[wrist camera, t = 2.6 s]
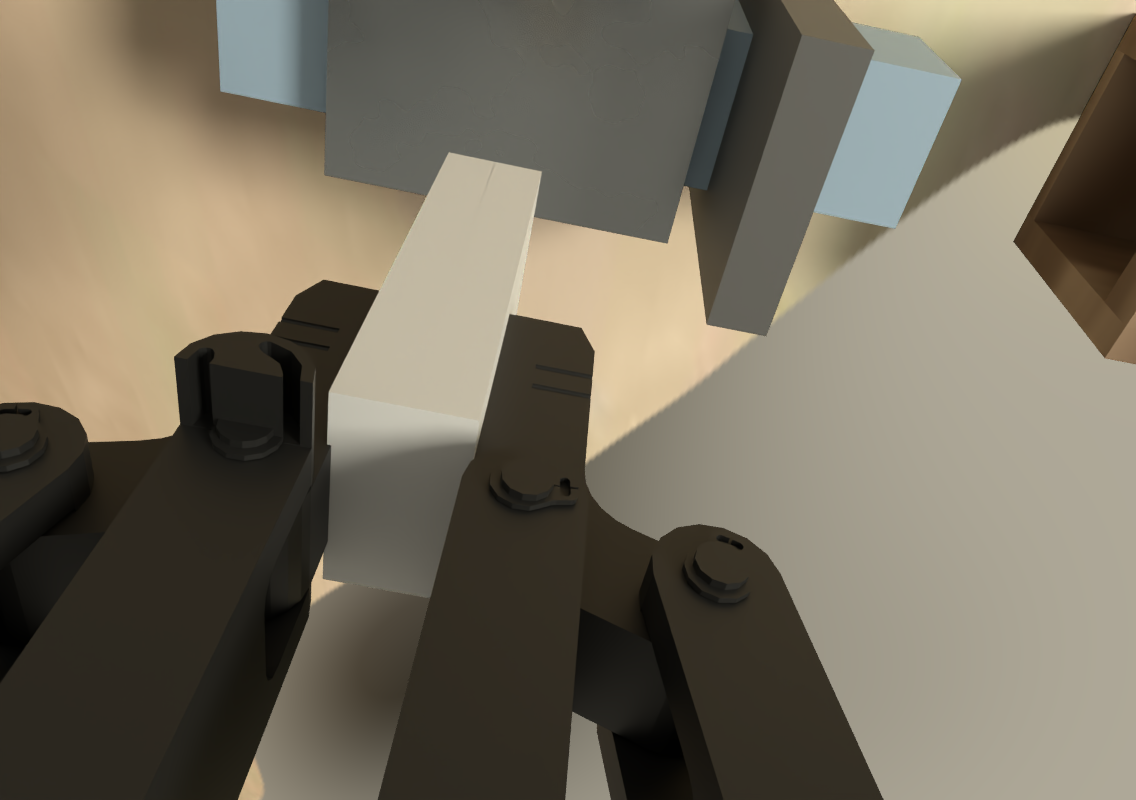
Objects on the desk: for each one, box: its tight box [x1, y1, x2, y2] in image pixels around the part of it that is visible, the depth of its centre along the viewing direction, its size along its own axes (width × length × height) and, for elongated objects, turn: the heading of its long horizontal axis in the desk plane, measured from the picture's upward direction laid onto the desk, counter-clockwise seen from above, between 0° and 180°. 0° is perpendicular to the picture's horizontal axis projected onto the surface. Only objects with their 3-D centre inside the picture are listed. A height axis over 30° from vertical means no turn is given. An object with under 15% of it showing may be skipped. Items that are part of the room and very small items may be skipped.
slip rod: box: [216, 0, 962, 336], centre depth 22 cm, size 18×6×10 cm, turn 79°
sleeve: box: [324, 0, 735, 243], centre depth 23 cm, size 9×6×6 cm
